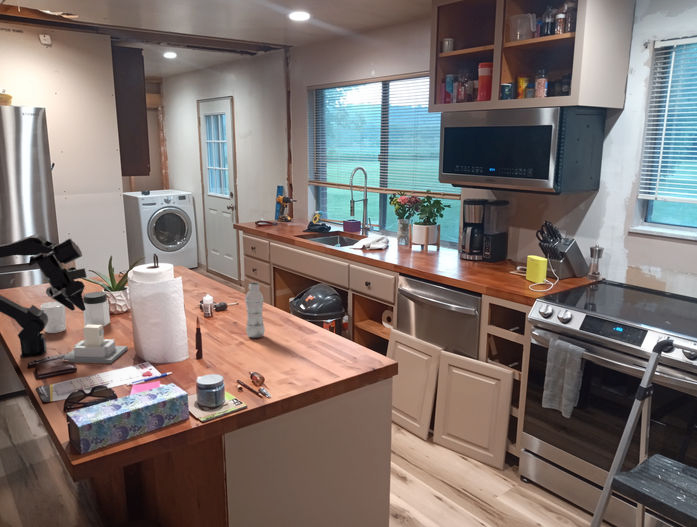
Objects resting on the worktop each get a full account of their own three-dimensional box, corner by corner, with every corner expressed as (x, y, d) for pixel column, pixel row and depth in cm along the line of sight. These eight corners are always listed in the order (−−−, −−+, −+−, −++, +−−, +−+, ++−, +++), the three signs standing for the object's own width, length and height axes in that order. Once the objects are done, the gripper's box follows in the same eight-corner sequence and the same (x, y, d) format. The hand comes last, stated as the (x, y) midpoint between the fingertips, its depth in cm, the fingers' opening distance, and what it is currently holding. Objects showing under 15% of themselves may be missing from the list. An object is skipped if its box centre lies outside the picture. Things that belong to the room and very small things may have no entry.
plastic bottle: (261, 340, 198) (259, 286, 194) (243, 339, 199) (241, 285, 195) (267, 334, 204) (266, 282, 200) (250, 333, 206) (248, 280, 201)
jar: (80, 325, 211) (77, 295, 209) (99, 319, 218) (96, 290, 216) (95, 329, 207) (92, 298, 204) (114, 323, 214) (111, 293, 211)
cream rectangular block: (85, 353, 181) (82, 327, 179) (90, 350, 184) (87, 324, 182) (101, 354, 181) (99, 328, 179) (106, 350, 184) (104, 325, 182)
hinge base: (62, 361, 177) (60, 349, 176) (81, 348, 189) (80, 336, 188) (110, 363, 177) (109, 351, 176) (127, 349, 188) (126, 337, 187)
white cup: (38, 331, 204) (35, 305, 202) (58, 325, 211) (55, 300, 209) (52, 335, 201) (49, 308, 199) (72, 328, 208) (69, 303, 205)
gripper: (85, 256, 179) (111, 296, 184) (64, 259, 192) (88, 296, 197) (53, 274, 172) (81, 316, 177) (34, 276, 185) (60, 314, 190)
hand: (78, 310), depth 186 cm, fingers open, 9 cm apart
